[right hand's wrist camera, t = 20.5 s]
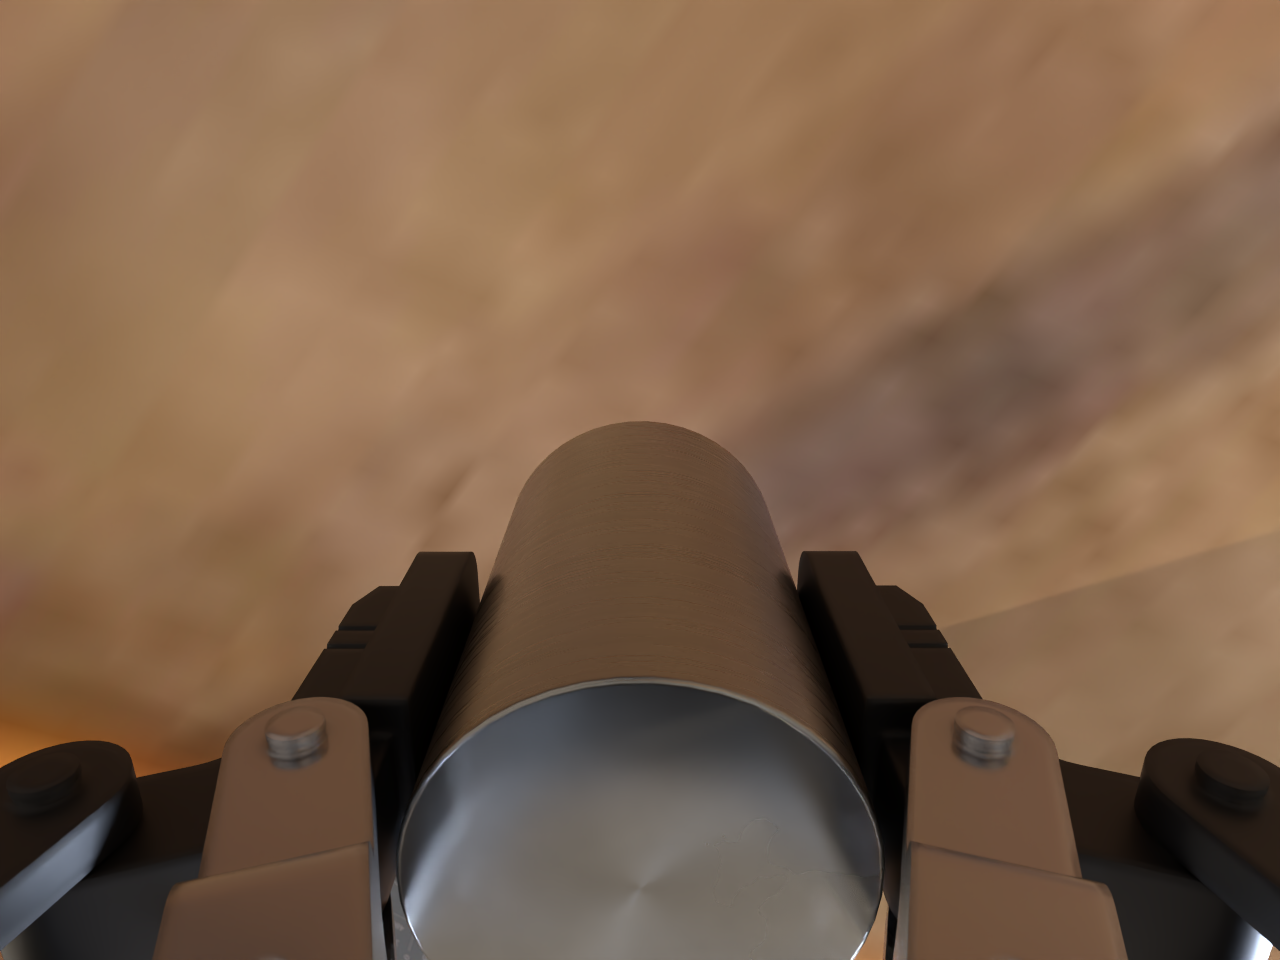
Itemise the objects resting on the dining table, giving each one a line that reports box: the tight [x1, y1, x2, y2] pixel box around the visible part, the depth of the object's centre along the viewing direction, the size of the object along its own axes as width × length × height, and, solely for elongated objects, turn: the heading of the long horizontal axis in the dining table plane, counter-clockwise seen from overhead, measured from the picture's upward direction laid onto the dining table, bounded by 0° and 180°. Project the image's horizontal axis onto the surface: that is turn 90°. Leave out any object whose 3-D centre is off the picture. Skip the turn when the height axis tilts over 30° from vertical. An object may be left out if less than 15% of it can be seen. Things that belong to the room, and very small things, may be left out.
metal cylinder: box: [396, 421, 885, 960], centre depth 11 cm, size 4×4×7 cm
